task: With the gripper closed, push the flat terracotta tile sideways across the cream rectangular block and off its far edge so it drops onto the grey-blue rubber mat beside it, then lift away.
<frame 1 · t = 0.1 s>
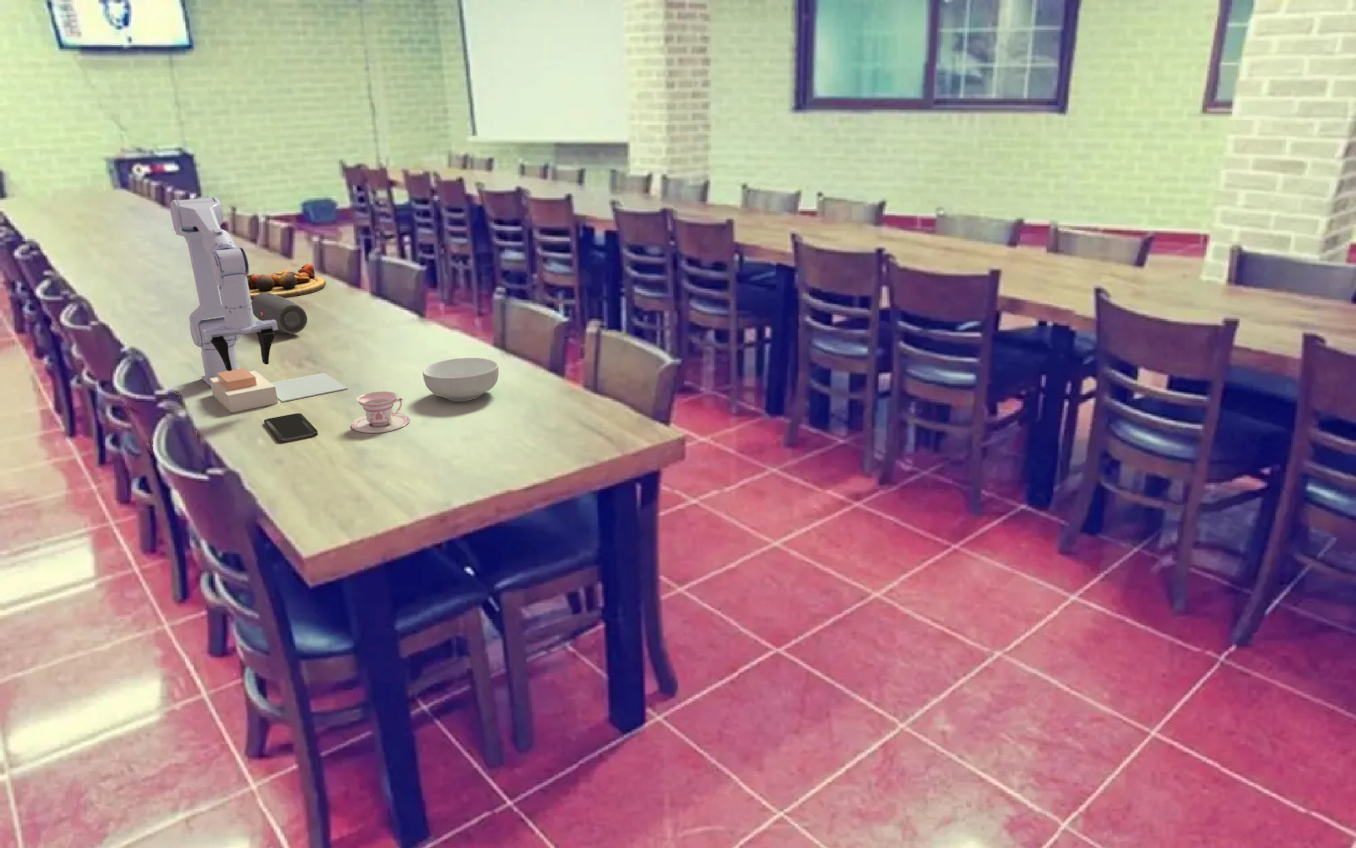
hand: (247, 366, 204), 10 cm above the table, tool pointing down, fingers open, 7 cm apart
teacup: (381, 425, 199), on the table
mat: (304, 387, 222), on the table
wooden plate with food: (278, 291, 328), on the table
terracotta tile: (237, 383, 212), point 4 cm above the table, touching cream rectangular block
phone: (291, 431, 196), on the table
cereal bowl: (463, 396, 216), on the table
cream rectangular block: (244, 398, 214), on the table
bluetooth speaker: (281, 331, 274), on the table
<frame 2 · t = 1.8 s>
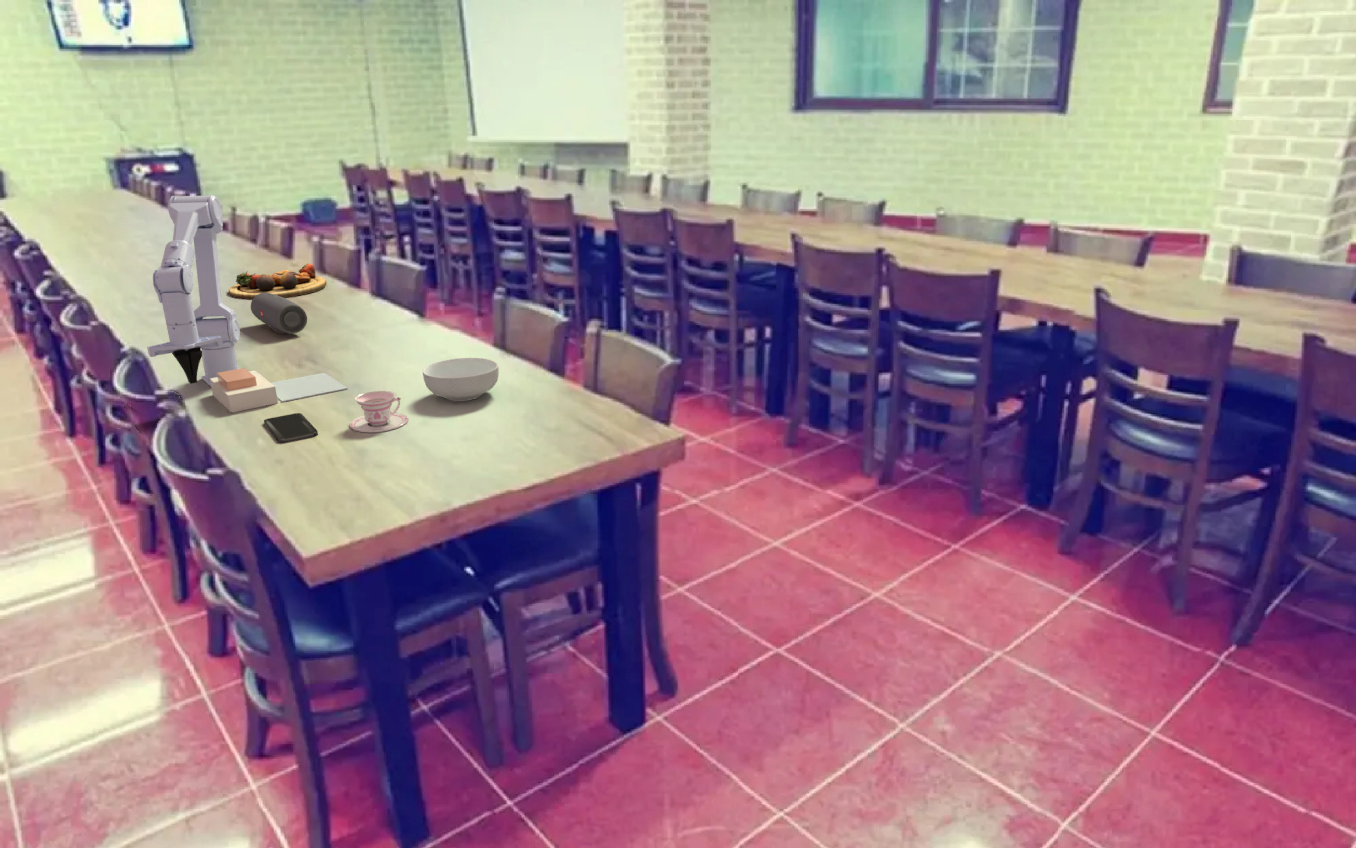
hand: (192, 382, 206), 6 cm above the table, tool pointing down, fingers closed
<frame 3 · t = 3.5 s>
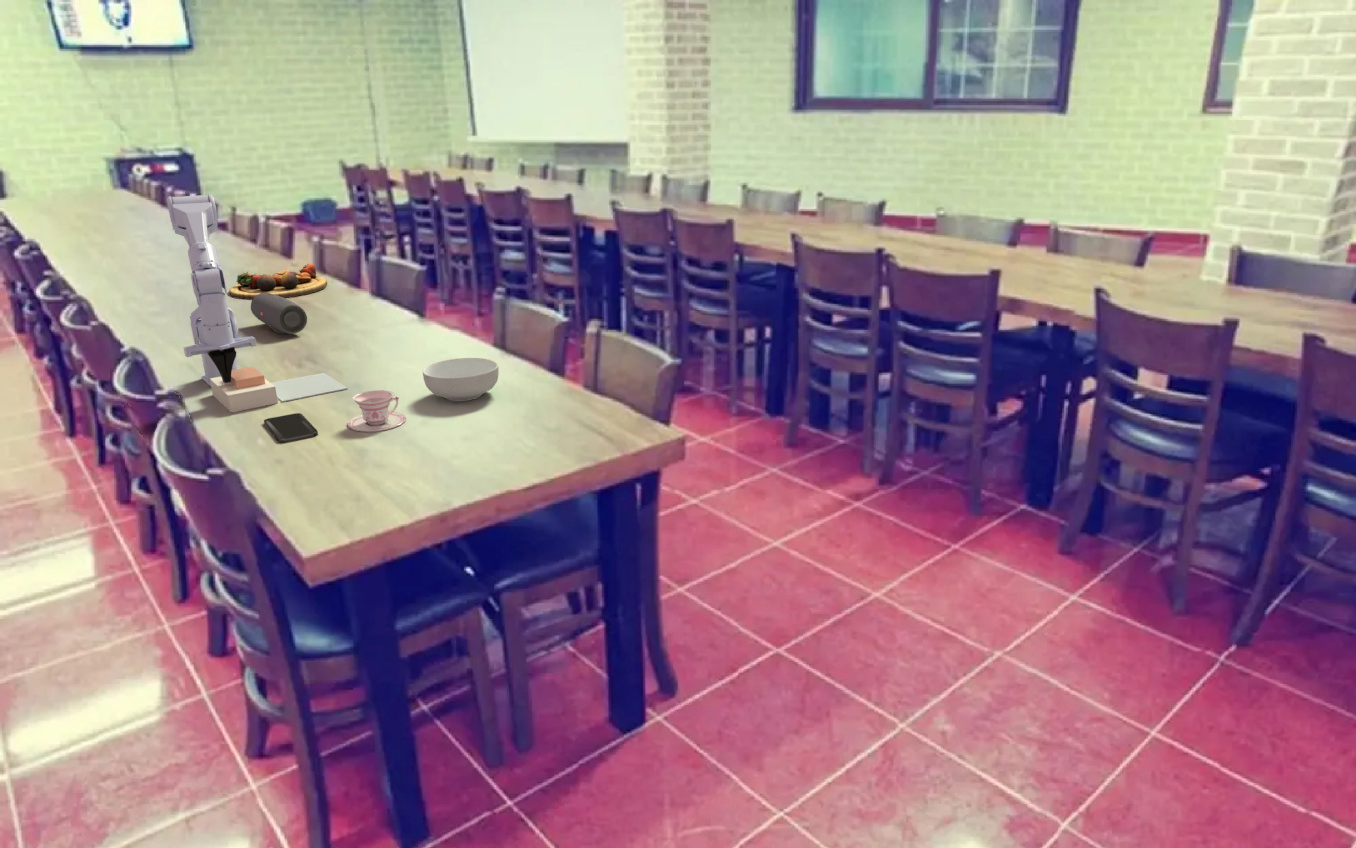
hand: (226, 381, 211), 5 cm above the table, tool pointing down, fingers closed
terracotta tile: (246, 381, 213), point 4 cm above the table, touching cream rectangular block, gripper
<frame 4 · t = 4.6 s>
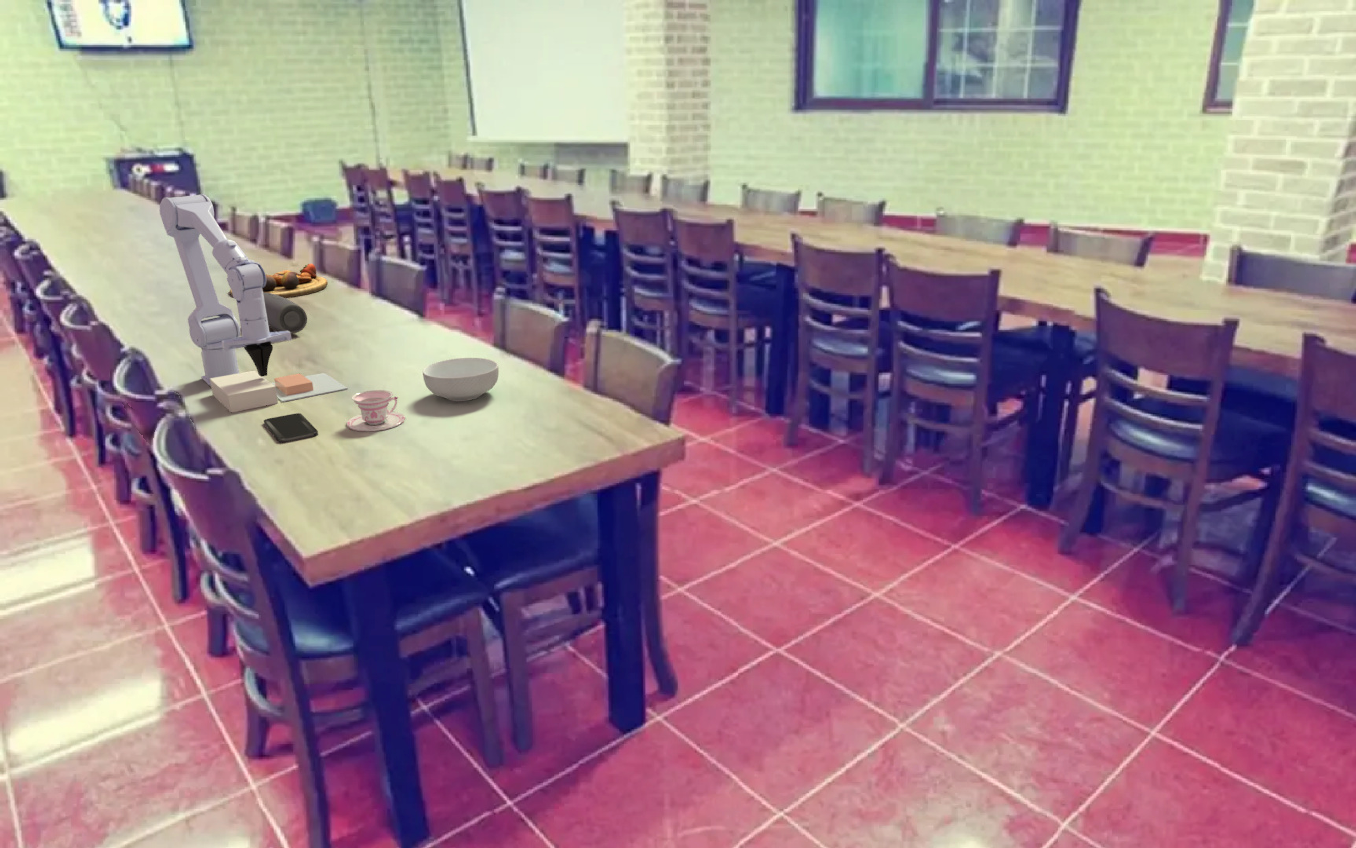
hand: (262, 375, 215), 5 cm above the table, tool pointing down, fingers closed
terracotta tile: (293, 380, 220), point 2 cm above the table, tilted 180°, touching mat
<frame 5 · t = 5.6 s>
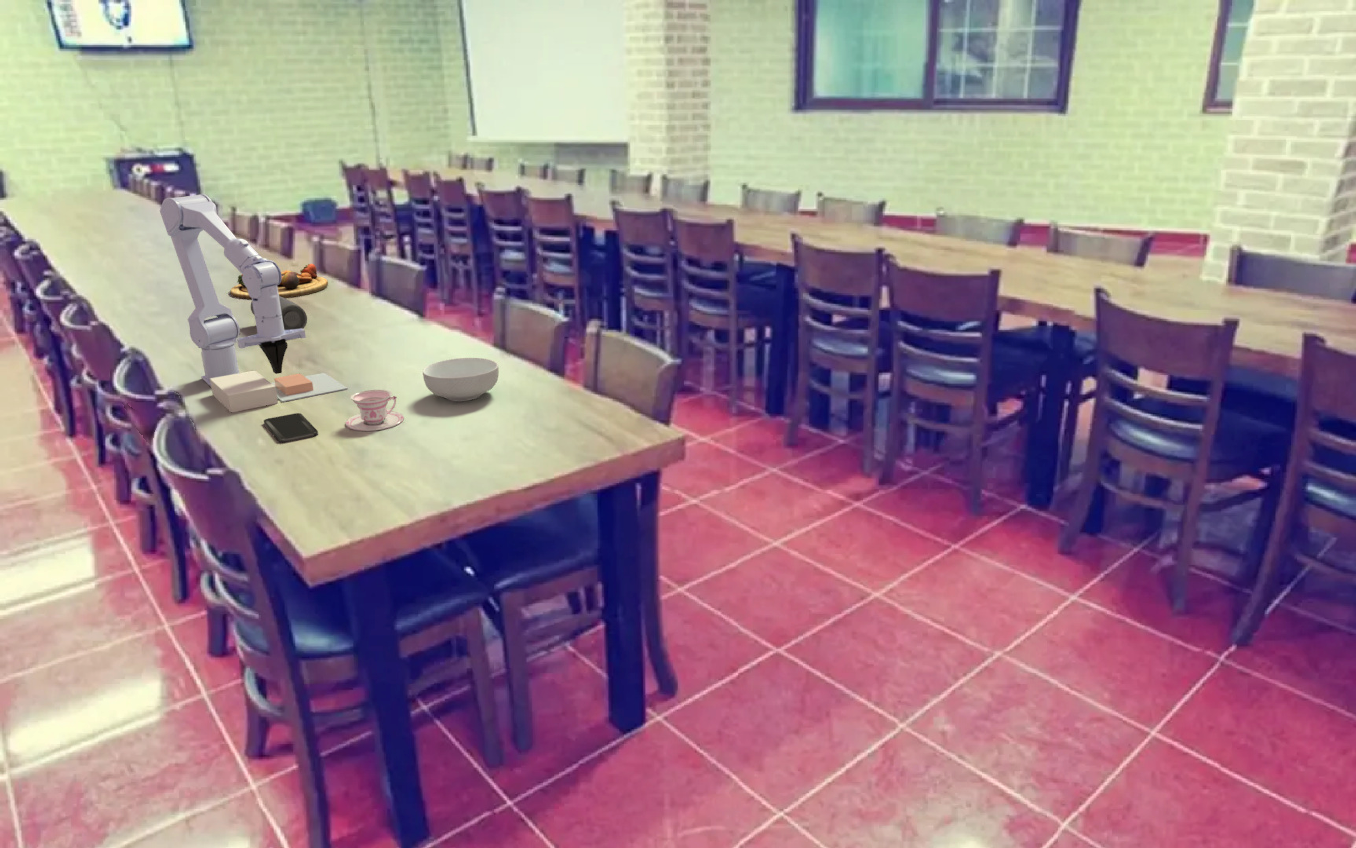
hand: (277, 372, 217), 5 cm above the table, tool pointing down, fingers closed
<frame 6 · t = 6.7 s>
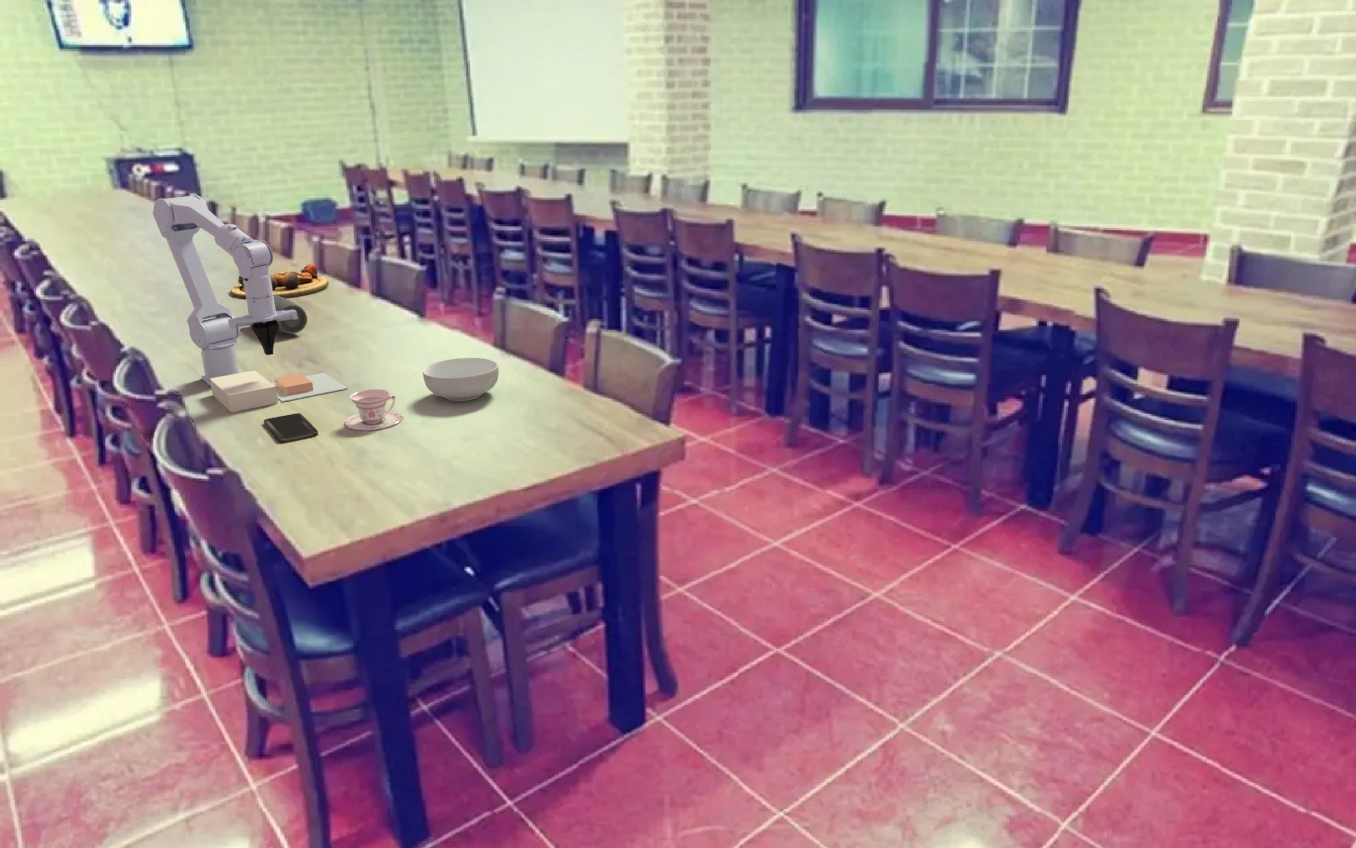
hand: (269, 353, 215), 9 cm above the table, tool pointing down, fingers closed
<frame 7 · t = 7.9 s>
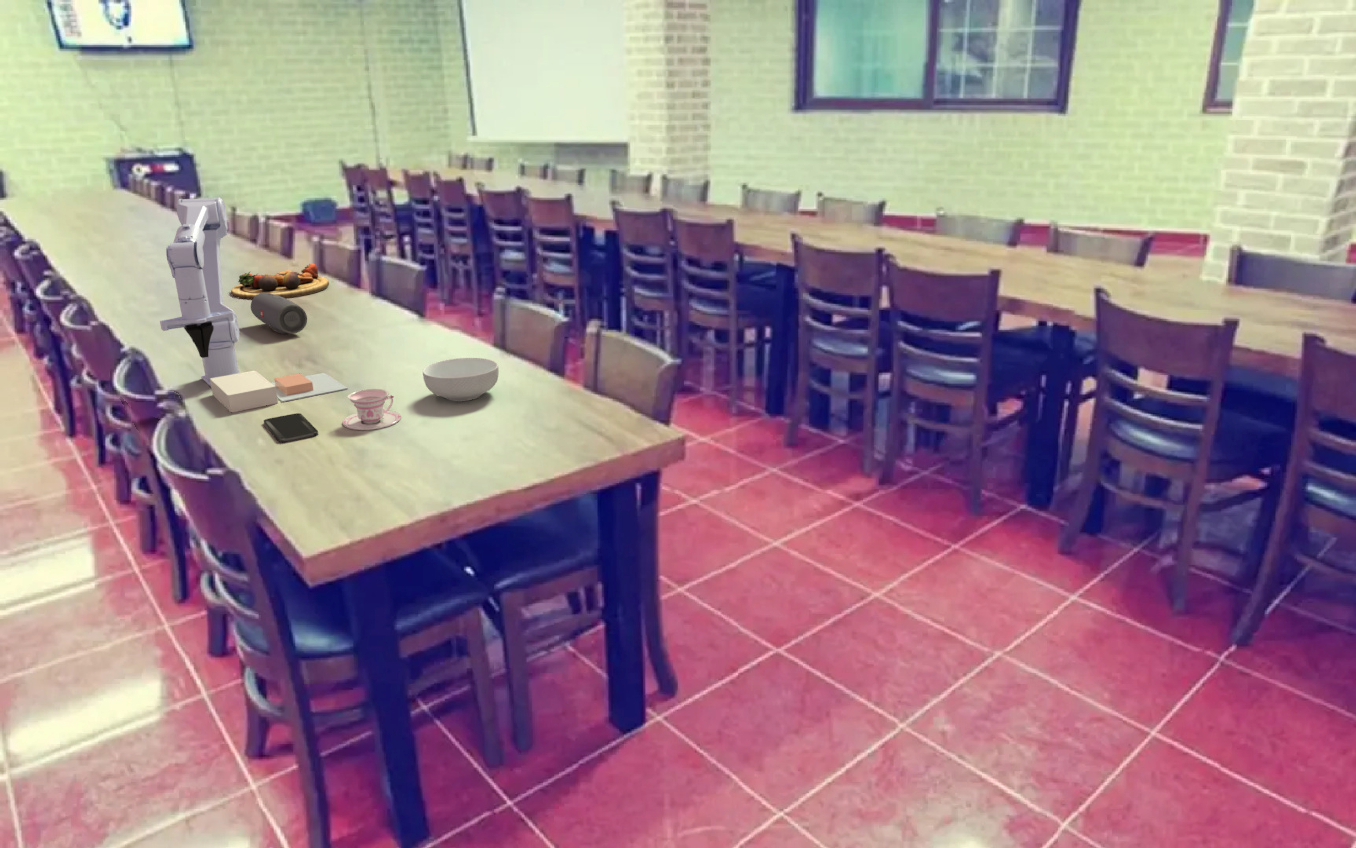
hand: (204, 356, 210), 10 cm above the table, tool pointing down, fingers closed
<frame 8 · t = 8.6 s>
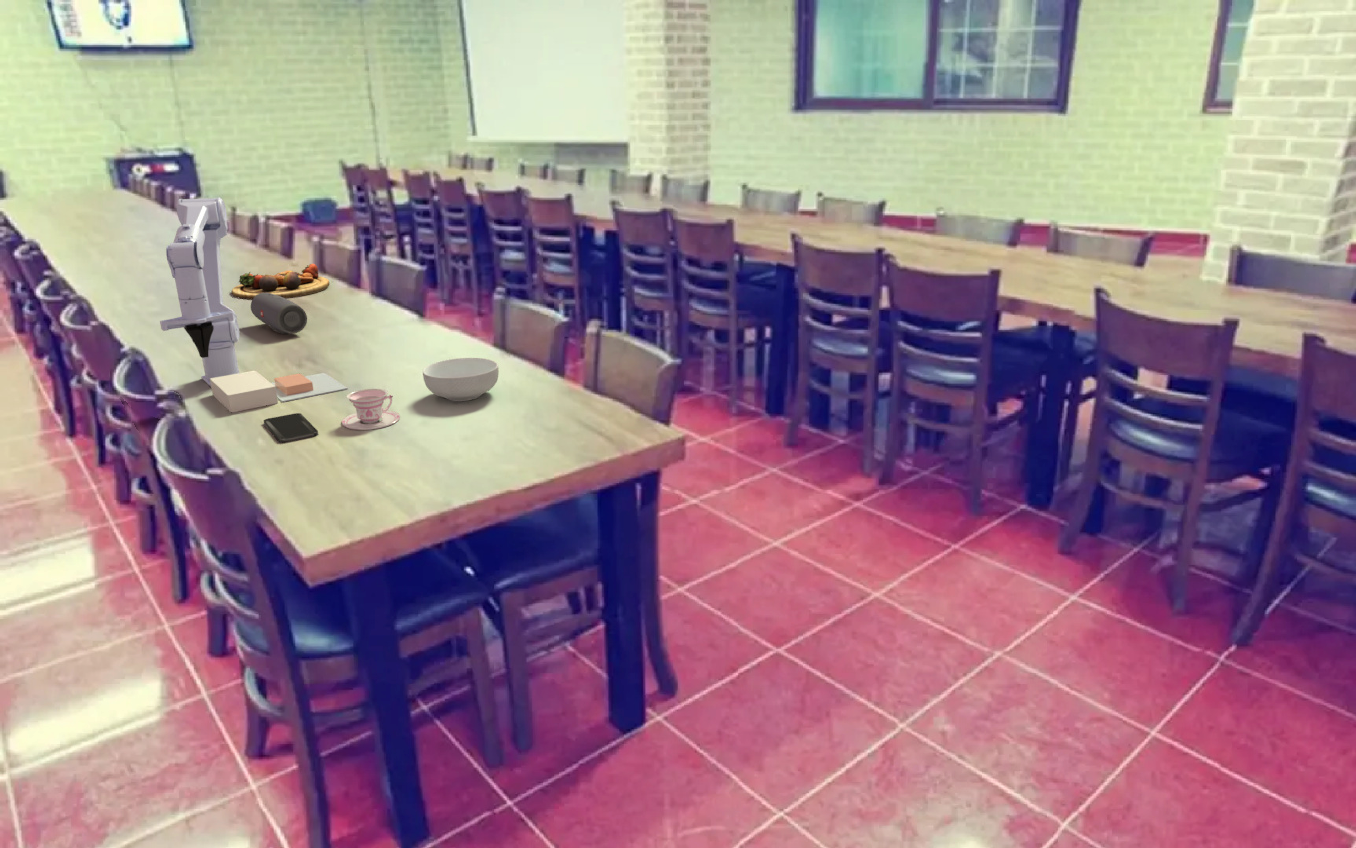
hand: (204, 356, 210), 10 cm above the table, tool pointing down, fingers closed
at the end: terracotta tile inside the target area (3.2 cm from its centre), point 2.3 cm above the table; terracotta tile touching mat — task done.
